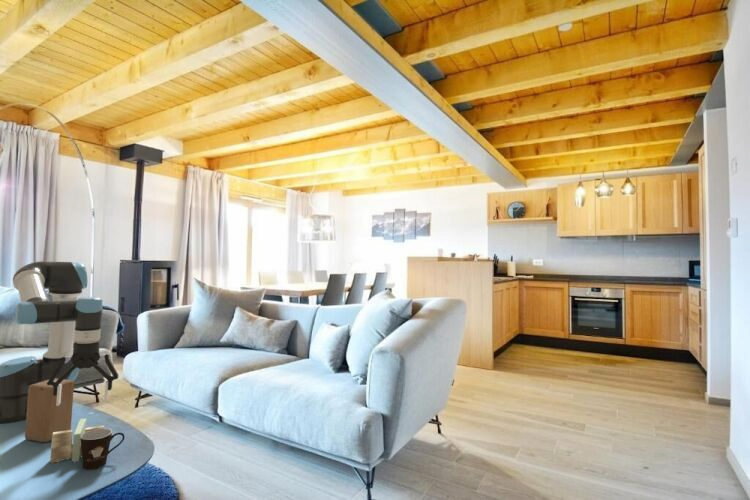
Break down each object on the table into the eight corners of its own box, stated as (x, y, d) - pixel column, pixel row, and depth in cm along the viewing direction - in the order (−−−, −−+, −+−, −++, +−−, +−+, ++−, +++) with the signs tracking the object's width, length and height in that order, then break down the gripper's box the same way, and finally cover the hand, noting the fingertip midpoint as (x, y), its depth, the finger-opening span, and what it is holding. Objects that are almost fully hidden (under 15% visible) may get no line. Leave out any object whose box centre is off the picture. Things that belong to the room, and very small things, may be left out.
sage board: (78, 444, 142) (80, 419, 143) (84, 443, 143) (86, 418, 143) (71, 462, 130) (73, 434, 130) (78, 461, 131) (80, 433, 131)
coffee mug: (73, 473, 124) (75, 440, 124) (84, 459, 132) (86, 429, 132) (115, 469, 127) (117, 437, 127) (124, 456, 135) (126, 426, 136)
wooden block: (45, 443, 141) (49, 387, 142) (23, 440, 143) (27, 384, 144) (71, 432, 151) (75, 380, 152) (50, 429, 153) (54, 377, 154)
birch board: (49, 463, 129) (51, 435, 129) (52, 458, 132) (54, 430, 132) (101, 455, 135) (103, 428, 136) (102, 449, 139) (104, 424, 139)
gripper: (39, 345, 130) (34, 410, 129) (127, 341, 142) (123, 400, 142) (44, 341, 137) (39, 402, 136) (128, 337, 149) (125, 394, 148)
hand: (82, 401), depth 139 cm, fingers open, 13 cm apart
